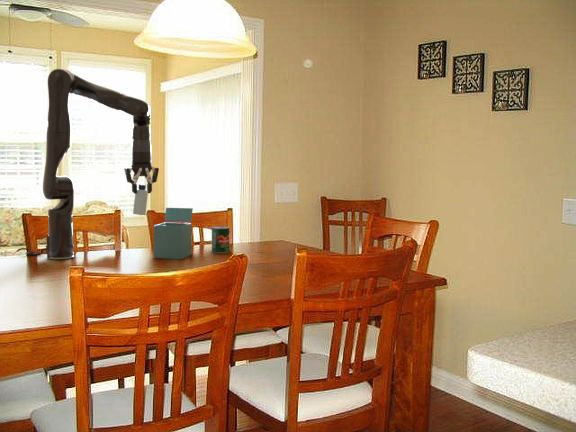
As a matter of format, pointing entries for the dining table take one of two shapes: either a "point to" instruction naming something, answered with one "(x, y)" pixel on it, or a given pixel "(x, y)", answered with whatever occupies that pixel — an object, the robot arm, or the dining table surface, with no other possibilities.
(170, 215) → the flap
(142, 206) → the bottle
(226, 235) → the canned tomato
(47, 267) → the dining table surface
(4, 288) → the dining table surface
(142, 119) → the robot arm
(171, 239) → the carton
